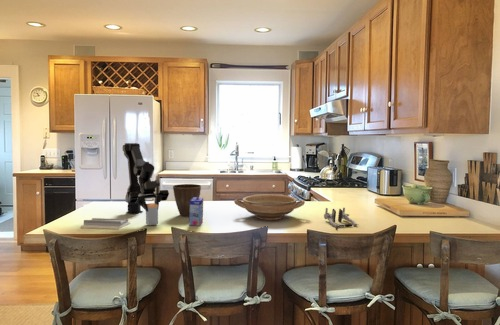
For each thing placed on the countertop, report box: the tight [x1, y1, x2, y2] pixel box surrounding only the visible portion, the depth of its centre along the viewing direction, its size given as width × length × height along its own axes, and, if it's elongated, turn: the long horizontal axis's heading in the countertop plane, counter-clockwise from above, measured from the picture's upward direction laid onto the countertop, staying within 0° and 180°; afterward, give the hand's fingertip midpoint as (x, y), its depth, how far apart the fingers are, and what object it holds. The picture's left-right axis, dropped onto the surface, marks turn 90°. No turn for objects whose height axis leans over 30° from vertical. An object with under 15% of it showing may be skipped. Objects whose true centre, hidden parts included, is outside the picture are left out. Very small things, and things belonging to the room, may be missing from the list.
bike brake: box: [323, 207, 360, 232], centre depth 176 cm, size 14×7×20 cm
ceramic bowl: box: [233, 193, 305, 221], centre depth 192 cm, size 37×29×10 cm
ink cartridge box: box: [189, 193, 204, 227], centre depth 178 cm, size 10×6×14 cm, turn 179°
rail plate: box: [80, 217, 131, 230], centre depth 174 cm, size 11×19×3 cm, turn 82°
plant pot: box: [172, 183, 202, 217], centre depth 197 cm, size 15×15×16 cm
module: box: [145, 202, 159, 226], centre depth 175 cm, size 4×4×10 cm
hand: (152, 210), depth 173 cm, fingers closed on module, 4 cm apart
